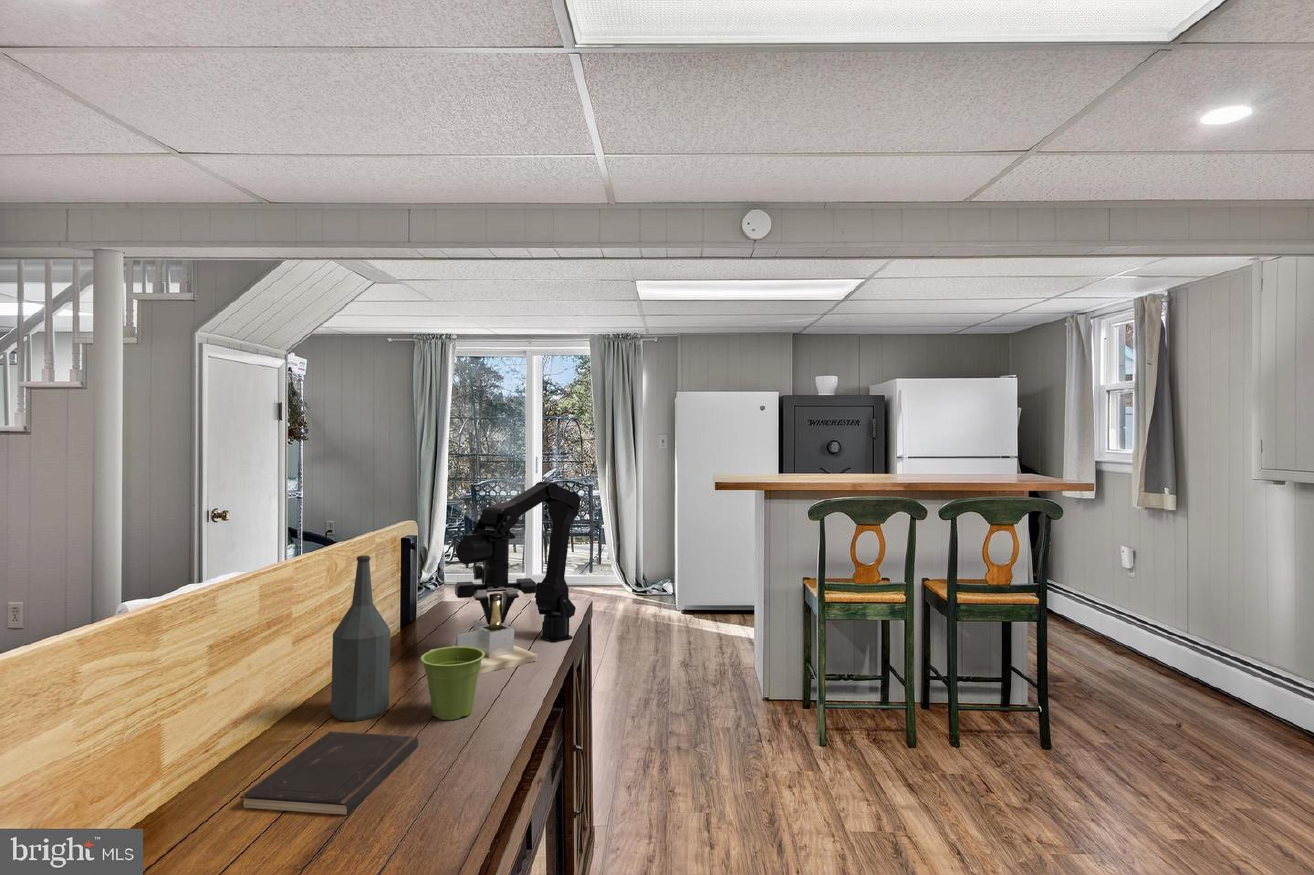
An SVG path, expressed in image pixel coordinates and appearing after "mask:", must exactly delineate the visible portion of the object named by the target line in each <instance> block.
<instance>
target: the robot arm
mask: <svg viewBox="0 0 1314 875" xmlns="http://www.w3.org/2000/svg"><path fill="white" fill-rule="evenodd" d="M541 503H545V504H546V505H547V513H548V515H549V518H550V520H551V530H550V540H549V546H548V553H547V554H548V555H547V563H546V568H545V570H546V571H545V577H544V578H543V579H542V581H541V582H539V581H538V582H536V581H534V580H533V579H532V578H531V577H526V578H516V581H515V582H509V569H510V566H509V565H510V562H509V561H510V560H509V557H510V554H509V552H510V551H509V550H510V540H515V539H516V535H515V534H514V533H513V532H512V531H511V529H512V528H513V527H514V526H515V525H517V524H518V523H519V519H520V518H521V516H523V515H524V514H526V513H527V512H529V511H530V510H532V509H533V508H535V507H537V506H538V505H540V504H541ZM580 506H581V497H580V496H579V494H578V493H577V491H575V490H574V491H572V490H569V489H567V488H564V487H562V486H560V485H557V484H556V483H554V482H552V481H541V480H540V481H538V482H537V483H535V485H533V486H532V487H530V488H528V489H527V490H524V491H523V492H521V493H519V494H518V495H517V496H515V497H513V498H511V499H510V500H508V501H505V502H499V503H495V504H492V505H489V506H486V507H484V509H483V510H482V511H481V514H480V517H479V518H478V520H477V522H476V524H475V525H474V528H473V530H472V531H471V533H464V534H463V535H462V540H460V541H459V542H458V544H457V547H456V551H455V552H456V553H455V554H456V557H457V559H458V561H459V562H460V563H461V564H463V565H470V564H474V563H481V562H484V564H483V565H474V566H473V579H474V581H475V580H481V584H475V583H474V582H473V581H459V582H456V584H455V586H454V594H455V596H456V598H458V599H466V598H467V599H468V598H469V599H470V598H472V597H473V599H474V600H475V601H479V603H480V605H481V607H482V611H483V614H484V617H485V621H486V623H487V624H488V625H489V624H490V611H489V596H488V595H487V594H488V593H495V592H496V593H498V592H502V624H504V623H505V621H506V618H507V615H508V613H509V611H510V609H511V606H512V605H513V603H514V601H515V599H519V598H520V595H519V594H518V593H519V591H520V592H522V594H524V595H529V594H534V597H533V598H534V599H535V605H536V606H537V612H538V614H539V615H543V621H542V627H541V628H542V629H541V634H540V635H539V637H540V638H541V639H544V640H545V641H548V642H552V643H556V642H562V641H566V640H572V639H573V636H572V635H570V619H571V618H572V617H574V616H575V613H576V609H577V608H576V606H575V605H574V603H573V602H572V601H571V599H570V598H569V597H570V596H569V595H570V594H569V593H570V592H569V587H568V584H567V582H566V579H565V573H566V566H567V559H568V558H567V557H568V550H569V542H570V533H571V526H572V523H573V522H574V520H575V519H576V518H577V516H578V515H579V511H580ZM483 566H484V567H483Z"/></svg>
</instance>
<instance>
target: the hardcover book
mask: <svg viewBox="0 0 1314 875" xmlns="http://www.w3.org/2000/svg"><path fill="white" fill-rule="evenodd" d="M418 747H419V738H417V736H415V735H414V736H412V735H411V736H410V735H397V734H396V735H395V734H394V735H393V734H381V733H380V734H377V733H363V732H362V733H360V732H348V731H347V732H345V731H328V732H327V733H326V734H324V735H323V736H321V737H320V738H319V739H317V740H316V741H315V742H313V743H312V744H310V745H309V746H308V747H306V748H305V749H303V750H302V751H301V752H299V753H298V754H296V755H295V756H294V757H292V758H291V759H290V760H288V761H287V762H285V763H284V764H283V765H282V766H280V767H279V768H277V769H276V770H274V771H273V772H272V773H270V774H269V775H268V776H266V777H265V778H263V779H262V780H261V781H259V782H258V783H257V784H254V786H252V787H251V788H250V789H248V790H247V791H245V792H244V793H243V794H242V795H240V797H239V798H240V799H243V803H242V805H243V808H245V809H259V810H270V811H271V810H273V811H288V812H290V811H291V812H301V813H303V812H304V813H317V814H327V815H328V814H331V815H345V816H349V815H350V814H351V813H352V812H353V811H354V810H356V808H357V807H358V806H360V805H361V803H363V802H364V800H365V799H366V798H368V797H369V796H370V795H371V794H372V793H373V792H374V790H376V789H377V788H378V787H379V786H380V785H381V784H382V783H383V782H384V781H385V780H386V779H387V778H388V777H389V776H390V775H391V774H392V773H393V772H394V771H395V770H396V769H397V768H398V767H399V766H400V765H401V764H402V763H404V761H405V760H406V759H407V758H408V757H410V755H412V753H413V752H414V751H416V749H418Z"/></svg>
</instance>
